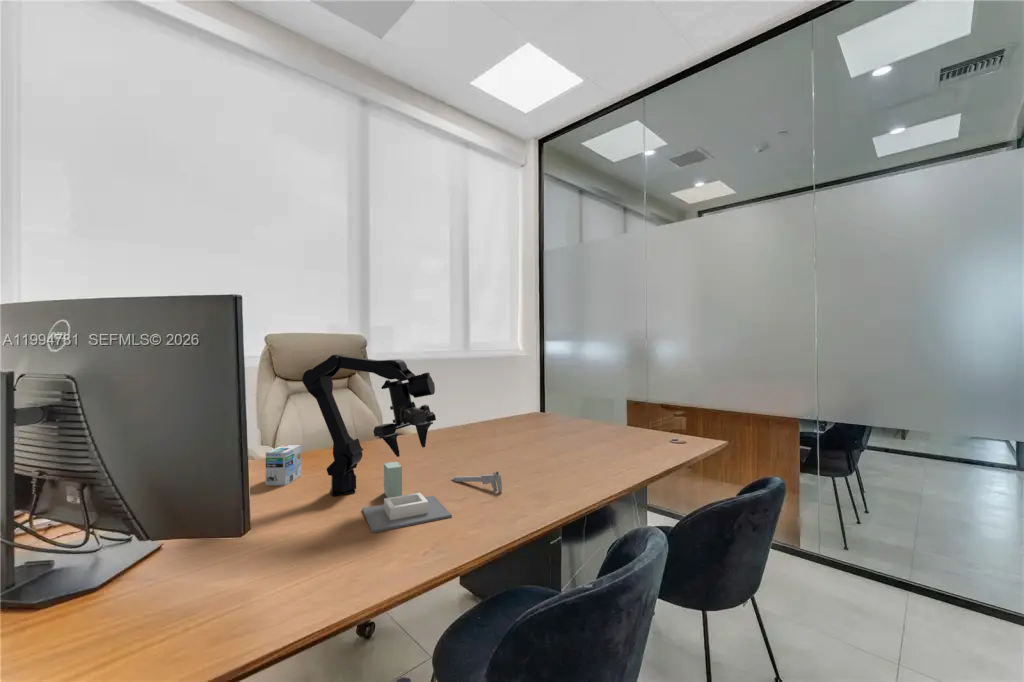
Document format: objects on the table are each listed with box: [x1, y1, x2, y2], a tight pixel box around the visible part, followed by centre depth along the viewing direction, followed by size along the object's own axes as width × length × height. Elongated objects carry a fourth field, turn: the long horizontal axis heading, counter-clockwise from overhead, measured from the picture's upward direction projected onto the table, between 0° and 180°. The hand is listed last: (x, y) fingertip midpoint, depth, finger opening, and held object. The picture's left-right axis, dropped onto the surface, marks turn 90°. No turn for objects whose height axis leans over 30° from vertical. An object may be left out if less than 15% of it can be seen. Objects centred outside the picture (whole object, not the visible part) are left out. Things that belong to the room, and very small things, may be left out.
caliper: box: [450, 470, 503, 493], centre depth 138 cm, size 20×1×6 cm, turn 54°
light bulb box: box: [265, 444, 302, 486], centre depth 144 cm, size 11×7×11 cm, turn 179°
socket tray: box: [361, 492, 453, 534], centre depth 116 cm, size 20×16×4 cm
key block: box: [383, 461, 403, 498], centre depth 130 cm, size 4×6×9 cm, turn 27°
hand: (411, 451), depth 131 cm, fingers open, 9 cm apart
